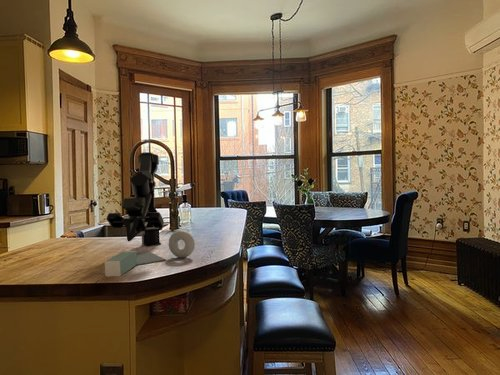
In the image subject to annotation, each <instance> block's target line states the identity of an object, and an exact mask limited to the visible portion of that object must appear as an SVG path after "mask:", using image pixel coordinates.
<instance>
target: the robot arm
mask: <svg viewBox="0 0 500 375" xmlns="http://www.w3.org/2000/svg"><path fill="white" fill-rule="evenodd" d="M137 164H138V166H139V169H138V170H139V171H138V172H136V174H135V175H133V176H132V177H131V178H130V186H131V189H132V192H133V193H132V194H133V195H134V197H132V198H131V197H130V198H129V197H127V198H123V199H122V205H121V209H124V210H125V212H124V213H125V214H124V215H123V216H122V215H121V213H120V212H109V213H108V214H107V216H106V217H105V218H106V221H107V222H108V224H109V226H110V227H111V228H112V229H122V228H123V227H124V228H125V229H126V240H127V241H128V242H131V241H133V239H134V238H136V237H137V236H138V235H139V234H140V233H141V232H142V234H141V245H142V246H145V247H151V246H158V245H162V243H161V242H160V231H162V230H163V227H164V218H163V216H162V213H160V212H159V211H158V210H157V209H156V206H155V205H156V204H155V200H156V198H155V188H156V185H157V184H156V182H155V174H156V173H157V171H158V169H159V168H158V165H160V157H159V155H158V154H156V153H153V152H150V151H149V152H140V153H139V154H138V155H137Z"/></svg>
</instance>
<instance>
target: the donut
mask: <svg viewBox="0 0 500 375" xmlns="http://www.w3.org/2000/svg"><path fill="white" fill-rule="evenodd" d="M180 240H182V241H183V243H184V247H183V248H181V247H180V246H179V241H180ZM195 246H196V245H195V239H194V237H193V235H192V234H191V233H190V232H189V231H188V230H187V231H186V230H183V229H181V230H176V231H174V232H173V233H172V234H171V235H170V237H169V239H168V248H169V251H170V252H171V253H172V254H173V256H174V257H176V258H180V259H182V258H183V259H185V258H188V257H189V256H191V255H192V254H193V252H194V250H195Z"/></svg>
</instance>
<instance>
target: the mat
mask: <svg viewBox="0 0 500 375" xmlns="http://www.w3.org/2000/svg"><path fill="white" fill-rule="evenodd" d="M136 255H137V265H135V266H142V265H147V264H155V263H160V262H165V261H166V260H167V259H165V258H164V257H162V256H159V255H158V254H155V253H153V252H151V251H148V250H145V251H141V252H136ZM114 256H115V255H114ZM114 256H113V255H112V257H114ZM135 266H134V267H135Z"/></svg>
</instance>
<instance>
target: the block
mask: <svg viewBox="0 0 500 375" xmlns="http://www.w3.org/2000/svg"><path fill="white" fill-rule="evenodd" d="M136 253H137V250H123V251H121V252H119V253H118V254H116V255H114V257H113V256H111V257H110V258H109V259H107V260H106V261H104V271H105V272H104V273H105V277H121V276H122V275H124V274H126V273H127V272H129V271H130V270H131V269H133V268H134V267H135V265H137V255H136ZM137 266H138V265H137Z"/></svg>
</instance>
